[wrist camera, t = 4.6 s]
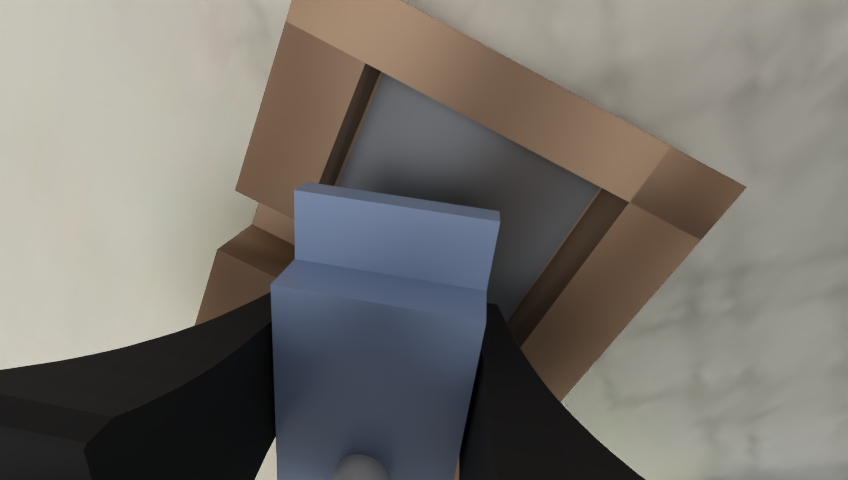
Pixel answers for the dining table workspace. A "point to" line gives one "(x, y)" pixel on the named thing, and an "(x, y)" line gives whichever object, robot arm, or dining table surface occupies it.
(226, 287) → the brown wooden flat frame
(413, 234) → the block
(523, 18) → the dining table surface
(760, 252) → the dining table surface
